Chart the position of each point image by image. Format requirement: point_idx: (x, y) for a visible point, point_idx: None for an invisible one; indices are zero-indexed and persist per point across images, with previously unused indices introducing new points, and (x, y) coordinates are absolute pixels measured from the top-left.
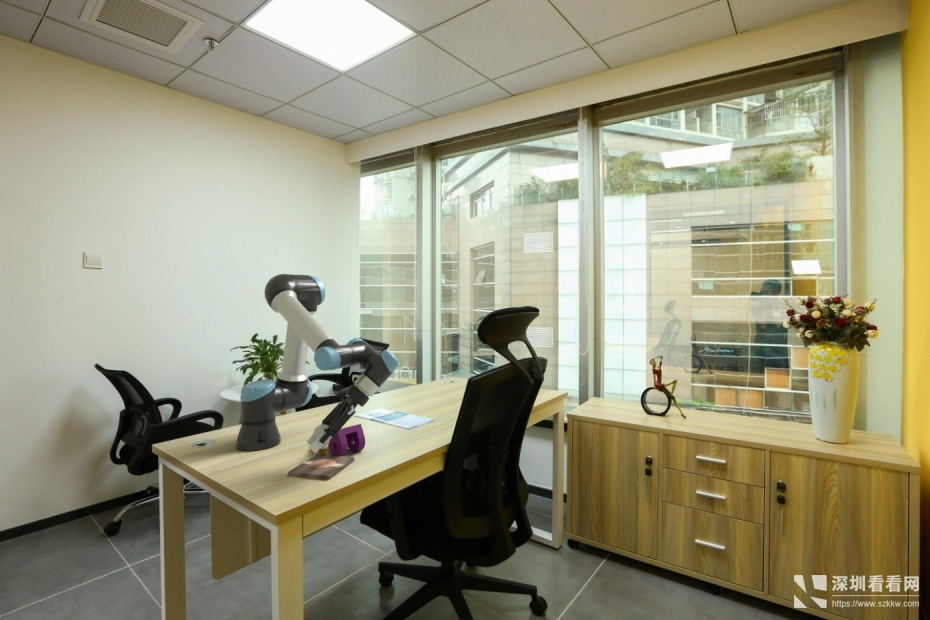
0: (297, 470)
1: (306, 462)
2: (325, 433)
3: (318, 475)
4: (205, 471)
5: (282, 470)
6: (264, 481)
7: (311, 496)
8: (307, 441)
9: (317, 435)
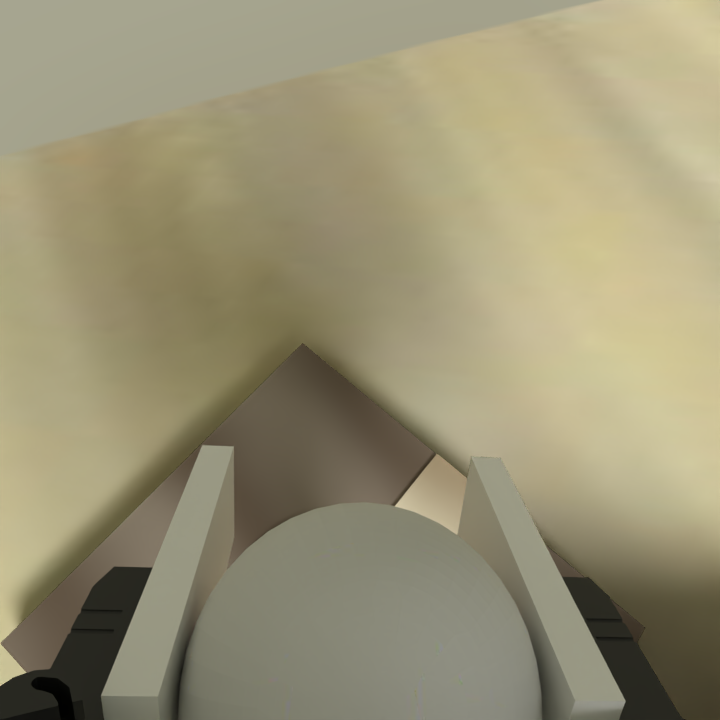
0: (295, 407)
1: (442, 499)
2: (89, 709)
3: (95, 551)
4: (588, 13)
5: (431, 335)
6: (283, 222)
7: None
8: (471, 465)
9: (240, 557)
